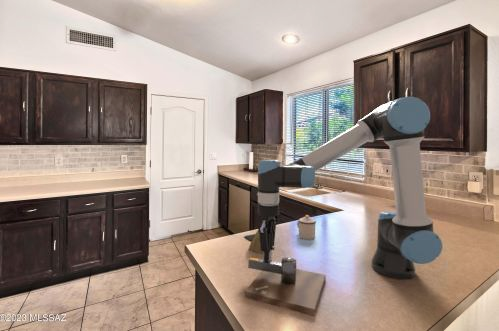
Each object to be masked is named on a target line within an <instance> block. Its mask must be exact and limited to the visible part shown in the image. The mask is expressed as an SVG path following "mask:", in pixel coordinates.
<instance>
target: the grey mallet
mask: <svg viewBox="0 0 499 331" xmlns="http://www.w3.org/2000/svg"><path fill="white" fill-rule="evenodd" d="M247 265H248V266H247V268H248V269H252V270H257V271H267V272H272V273H277V274H281V281H282V282H284V283H286V284H293V283H295V282H296V269H297V259H296V258H294V257H291V256H289V257H287V256H286V257H283V258H281V262H279V261H273V260H272V261H266V260H263V259H260V258H257V257H256V258H255V257H250V258H248V264H247Z"/></svg>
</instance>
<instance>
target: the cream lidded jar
mask: <svg viewBox="0 0 499 331" xmlns="http://www.w3.org/2000/svg"><path fill="white" fill-rule="evenodd" d="M296 226H297V229H298V237H299V238H300V239H303V240H313V239H315V237H316V219H314V218H312V217H311V216H309V215H308V214H305V216H303V217H301V218H299V219H298V221H297V222H296Z"/></svg>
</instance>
